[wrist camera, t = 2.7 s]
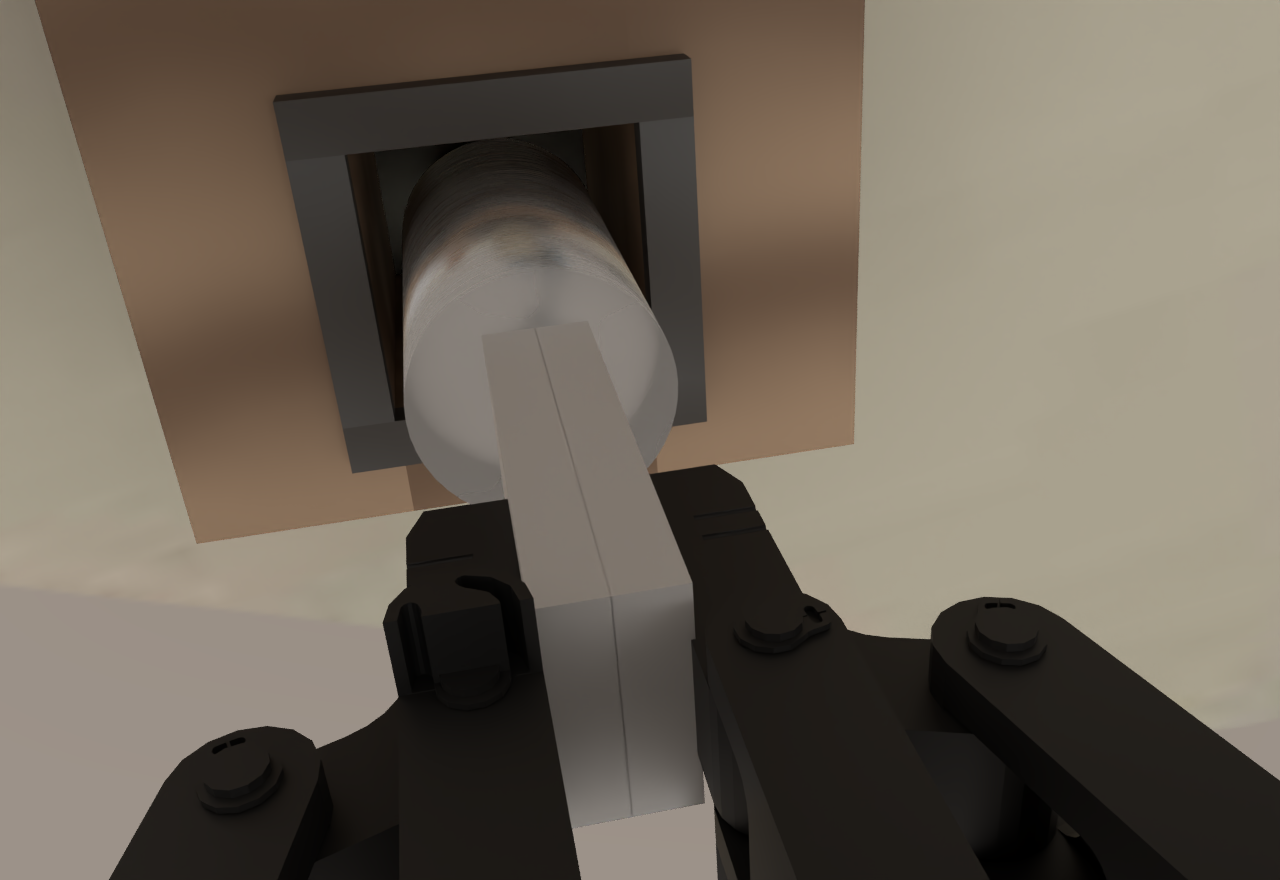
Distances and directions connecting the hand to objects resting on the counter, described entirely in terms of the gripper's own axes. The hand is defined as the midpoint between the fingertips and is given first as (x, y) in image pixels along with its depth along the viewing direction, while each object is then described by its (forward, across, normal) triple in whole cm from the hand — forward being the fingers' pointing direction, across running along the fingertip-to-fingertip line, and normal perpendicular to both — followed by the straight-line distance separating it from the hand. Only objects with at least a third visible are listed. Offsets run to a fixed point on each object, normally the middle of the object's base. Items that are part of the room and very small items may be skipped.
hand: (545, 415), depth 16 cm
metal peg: (+8, 0, 0) cm, 8 cm away
